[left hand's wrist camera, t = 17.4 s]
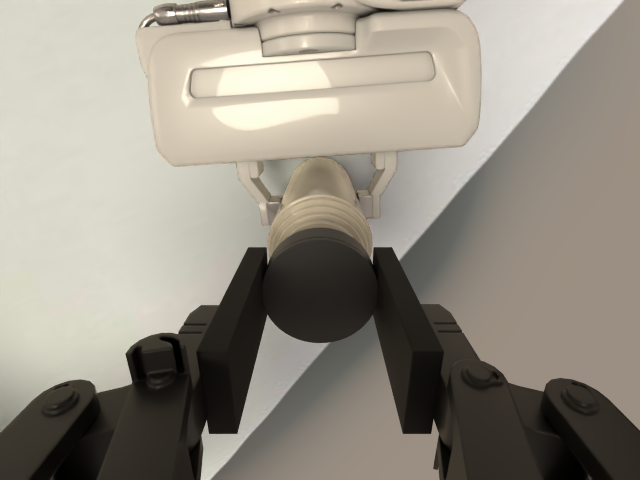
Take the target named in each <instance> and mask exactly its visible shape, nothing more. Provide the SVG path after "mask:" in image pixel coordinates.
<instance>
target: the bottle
mask: <svg viewBox="0 0 640 480" xmlns="http://www.w3.org/2000/svg"><path fill="white" fill-rule="evenodd" d="M320 227H322V228H331V229H336V230H339V231H342V232H344V233H346V234H348V235H350V236H351V237H353V238H354V239H356V240H357V241H358V242H359V243H360V244H361V245H362V246H363V247H364V249H365V250H366V252H367V253H368V255H369V257H370V256H371V251H372V235H371V230H370V227H369V225H368V222H367V220H366V217H365V215H364V212H363V210H362V207H361V205H360V202H359V200H358V197H357V195H356V193H355V190H354V188H353V185H352V183H351V180H350V178H349V175H348V174H347V172H346V170H345V169H344V168H343V167H342V166H341V165H340V164H339V163H337V162H336V161H334V160H332V159H328V158H323V157H317V158H312V159H309V160H306V161H304V162H303V163H301V164H300V165H299V166H298V167H297V168H296V169H295V170H294V172H293V174H292V176H291V178H290V181H289V183H288V186H287V188H286V190H285V193H284V195H283V198H282V200H281V203H280V205H279V208H278V210H277V213H276V215H275V218H274V220H273V223H272V225H271V228H270V231H269V235H268V250H269V256H270V257H271V255H272V253H273V252H274V250H275V249H276V247H277V246H278V245H279V244H280V243H281V242H282V241H283V240H285V239H286V238H287V237H289V236H291V235H292V234H294V233H296V232H299V231H302V230H305V229H309V228H320Z"/></svg>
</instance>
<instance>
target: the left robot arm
mask: <svg viewBox="0 0 640 480" xmlns="http://www.w3.org/2000/svg"><path fill="white" fill-rule="evenodd" d="M267 266H268V264H267V248H266V247H248V249H247V251H246V253H245V255H244V257H243V259H242V261H241V263H240V265H239V267H238V269H237V271H236V273H235V275H234V277H233V279H232V281H231V283H230V285H229V287H228V289H227V291H226V293H225V295H224V297H223V299H222V301H221V303H220V305H201V306H200V307H198V308H197V309H196V310H194V311H193V312H192V313H190V314H189V316H188V318H187V319H186V321H185V322H184V326H182V327H181V329H180V331H179V334H174V333H160V334H155V335H151V336H148V337H146V338H144V339H142V340H139V341H138V342H137V343H135V344H134V345H133V346H131V347H130V349H129V350H128V351H127V353H126V358H127V362H128V366H129V370H130V374H131V378H132V384H131V385H128V386H125V387H121V388H117V389H113V390H108V391H104V392H100V393H97V392H96V389H95V386H94V385H93V384H92V383H91V382H90V381H86V380H72V381H67V382H64V383H61V384H58V385H55V386H54V387H52V388H50V389H48V390H46V391H44V392H43V393H41V394H40V395H39V396H38V397H36V398H35V399H34V400H33V401H32V402H31V403H30V404H29V405H28V406H27V407H26V408H25V409H24V410H23V411H22V412H21V413H20V414H19V415H18V416H17V417H16V418H15V419H14V420H13V421H12V422H11V423H10V424H9V425H8V426H7V427H6V428H5V429H4V430H3V431H2V432H1V433H0V480H200V479H201V468H202V456H203V444H202V437H201V434H202V432H203V429H204V426H205V423H206V420H207V423H208V430H209V434H237V433H238V429H239V425H240V421H241V417H242V413H243V409H244V405H245V401H246V397H247V393H248V389H249V385H250V381H251V377H252V373H253V369H254V365H255V361H256V357H257V353H258V349H259V345H260V341H261V337H262V333H263V329H264V325H265V321H266V317H267V312H266V310H265V308H264V305H263V292H262V282H263V278H264V275H265V272H266V269H267ZM373 268H374V271H375V274H376V277H377V281H378V295H377V305H376V308H375V310H374V312H373V316H374V320H375V324H376V328H377V332H378V336H379V340H380V344H381V348H382V352H383V356H384V360H385V364H386V368H387V372H388V376H389V380H390V384H391V388H392V392H393V396H394V400H395V404H396V408H397V412H398V416H399V420H400V424H401V428H402V432H403V434H431V431H432V425H433V418H434V421H435V424H436V426H437V429H438V432H439V438H438V444H437V449H436V455H435V461H434V468H433V469H436V470H438V467H439V478H440V480H640V430H639V429H638V428H637V427H636V426H635V425H634V424H633V423H632V422H631V421H630V420H629V419H628V418H627V417H626V416H625V415H624V414H623V413H622V412H621V411H620V410H619V409H618V408H617V407H616V406H615V405H614V404H613V403H612V402H611V401H610V400H609V399H607V398H606V397H605V396H604V395H603V394H601V393H600V392H599V391H597V390H595V389H594V388H592V387H590V386H588V385H586V384H584V383H581V382H578V381H575V380H572V379H563V378H558V379H553V380H550V381H549V382H548V383H547V384H546V386H545V390H544V392H542V391H538V390H534V389H529V388H525V387H521V386H517V385H514V384H510V383H508V381H507V380H506V378H505V377H504V375H503V374H502V373H501V372H500V371H499V370H498V369H496V368H495V367H494V366H492V365H490V364H488V363H486V362H483V361H480V359H479V357H478V356H477V354H476V353H475V351H474V349H473V348H472V346H471V345H470V343H469V341H468V340H467V338H466V337H465V335H464V333H462V330H461V329H460V327H459V326H458V325H457V323H456V321H455V319H454V318H453V316H452V314H451V313H450V312H449V311H447V310H446V309H445V308H443V307H442V306H441V305H439V304H420V303H419V300H418V299H417V296H416V294H415V292H414V290H413V289H412V287H411V285H410V283H409V281H408V279H407V277H406V275H405V273H404V271H403V269H402V267H401V265H400V263H399V261H398V259H397V257H396V255H395V253H394V251H393V249H392V247H374V251H373Z"/></svg>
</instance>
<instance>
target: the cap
mask: <svg viewBox="0 0 640 480" xmlns="http://www.w3.org/2000/svg"><path fill="white" fill-rule="evenodd" d="M262 292H263V305H264V308H265V310H266V312H267V314H268V316H269V317H270V319H271V320H272V321H273V323H274V324H275V325H276V326H277V327H278V328H279V329H281V330H282V331H283V332H285V333H286V334H288V335H290V336H292V337H294V338H296V339H299V340H303V341H307V342H313V343H327V342H334V341H338V340H341V339H344V338H346V337H348V336H350V335H352V334H354V333H355V332H357V331H358V330H360V329H361V328H362V327H363V326H364V325H365V324H366V323H367V322H368V320H369V319H370V318H371V316H372V315H373V312H374V310H375V308H376V305H377V295H378V281H377V277H376V274H375V271H374V268H373V265H372V262H371V259H370V257H369V255H368V253H367V252H366V250H365V249H364V247H363V246H362V245H361V244H360V243H359V242H358V241H357V240H356V239H354V238H353V237H351V236H350V235H348V234H346V233H344V232H342V231H339V230H336V229H331V228H322V227H320V228H309V229H305V230H302V231H299V232H296V233H294V234H292V235H291V236H289V237H287V238H286V239H285V240H283V241H282V242H281V243H280V244H279V245H278V246H277V247H276V249H275V250H274V252H273V253H272V255H271V257H270V260H269V263H268V266H267V269H266V272H265V275H264V278H263V282H262Z"/></svg>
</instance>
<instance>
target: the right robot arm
mask: <svg viewBox="0 0 640 480" xmlns="http://www.w3.org/2000/svg"><path fill="white" fill-rule="evenodd" d="M465 1H466V0H204V1H198V2H194V3H189V4H182V5H177V4H175V3H167V4H161V5H158V6H155V7H154V9H153V13H152V14H150V15H148V16H147V17H145V18H144V19H143V21H142V22H141V24H140V25H139V28H138V30H137V31H136V44H137V49H138V53H139V57H140V62H141V66H142V69H143V71H144V73H145V75H146V77H147V78H148V90H149V103H150V112H151V120H152V127H153V133H154V139H155V144H156V148H157V151H158V153H159V154H160V155H161V156H162V157H163V158H164V159H165V160H166V161H167V162H168V163H169V164H171V165H172V166H174V167H180V166H194V165H209V164H223V163H236V165H237V172H238V178H239V181H240V182H241V183H242V184H243V186H244V187H245V188H246V189H247V191H248V192H249V193H250V195H251V196H252V197H253V198H254V200H255V201H256V202H257V203H259V208H260V215H261V222H262V225H263V226H266V225H272V223H273V220H274V218H275V215H276V213H277V210H278V208H279V205H280V203H281V200H282V198H283V196H271V194H270V193H269V191H268V190H267V188H266V187H265V186H264V184H263V183H262V181H261V180H260V179H259V176H260V175H261V174H262V172H263V171H264V168H263V161H266V160H280V159H294V158H309V157H323V156H337V155H351V154H366V153H371V162H372V164H373V166H374V167H375V168H376V169H377V171H376V173H375V175H374V177H373V179H372V181H371V183H370V184H369V186H368V188H367V189H368V190H357V191H356V195H357V197H358V200H359V202H360V205H361V207H362V210H363V212H364V215H365V217H366V219H374V218H380V195H381V194H382V193H383V192H384V190H385V188H386V186H387V185H388V183H389V181H390V180H391V178H392V176H393V175H394V173H395V171H396V170H397V151H409V150H423V149H437V148H451V147H462V146H464V145H465V144H466V143H467V142H468V141H469V140H470V138H471V137H472V136H473V134H474V133H475V132H476V130H477V128H478V125H479V118H480V107H481V51H480V41H479V36H478V33H477V30H476V27H475V25H474V24H473V22H472V21H471V19H470V18H469V17H468V16H467V15H465V14H464V13H462V12H460V11H458V10H456V9H458V8H459V7H460V6H461V5H462V4H463V3H464V2H465ZM155 21H156V22H157V24H158V25H160V26H154V27H149V26H150V25H151V24H152V23H153V22H155ZM188 23H191V24H188Z"/></svg>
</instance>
